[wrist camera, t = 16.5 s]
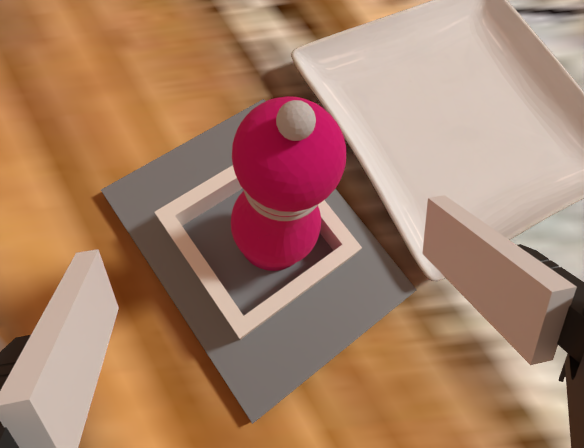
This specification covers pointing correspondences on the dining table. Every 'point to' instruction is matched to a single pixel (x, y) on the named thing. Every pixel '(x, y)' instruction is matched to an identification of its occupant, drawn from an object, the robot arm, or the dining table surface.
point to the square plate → (454, 114)
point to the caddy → (253, 272)
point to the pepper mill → (284, 179)
